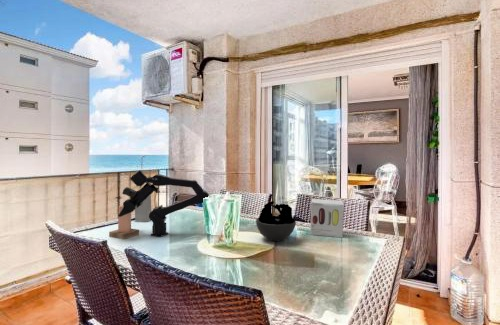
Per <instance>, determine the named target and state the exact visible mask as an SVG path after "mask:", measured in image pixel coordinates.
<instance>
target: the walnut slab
mask: <svg viewBox="0 0 500 325" xmlns="http://www.w3.org/2000/svg"><path fill="white" fill-rule="evenodd" d="M139 235H140V229H136V228H131V230H130V231H129V232H118V229H114V230H111V231H109V232H108V237H109V238H114V239H120V240H125V239H129V238H132V237H136V236H139Z"/></svg>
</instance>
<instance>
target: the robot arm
mask: <svg viewBox="0 0 500 325" xmlns="http://www.w3.org/2000/svg"><path fill="white" fill-rule="evenodd" d="M129 180H130V181H131V182H132V183H133V184H134V185H136V187H141V188H139V189H138V190H135V189H133V188H131V187H128V186H127V187H124V189H123V190H122V195H125V196H128V197H129V199H125V200H124V201H123V202H122V205H123V206H124V207H123V209H122V211H121V212H120V214H119V215H117V216H119V217H121V216H123V215H126V214H128V213H131V214H132V212H135V209H136V208H138V207H139V206H141V205H142V204H143V201H144V200H146V199H147V198H148V197H149V196H152V194H153V193H154V192H155V193H156V194H158V193H159V188H160V187H162V186H163V187H164V186H174V187H175V186H176V187H184V188H191V189H192V190H193V191H194V193H195V194H194V195H193V196H191V197H189V198H186V199H184V200H180V201H178V202H174V203H173V204H170V205H166V206H163V204H161V205H159V206H154V208H153V209H151V212H150V214H149V218H150V221H151V222H152V225H151V226H152V229H151V231H152V232H151V233H150V236H154V237H163V236H166V235H168V234H169V233H168V232H167V222H166V220H167V215H169V214H171V213H174V212H176V211H177V212H178V211H179V210H182V209H185V208H188V207H190V206H193V205H200V204H204V203H203V198H205V197H208V196H209V197H210V194H209V192H208V191H206V190H204V189H203V187H202V186H201V185H200V184H199V182H198V181H197V180H195V179H193V180H191V179H184V178H183V179H182V178H176V177H175V178H174V177H169V176H168V175H163V174H160V173H158V174H155V175H153V176H149V177H148V176H146V175H145V174H144V172H143V171H142V170H138V171H137V172H136V173H135V174H132V176H131V177H130V178H129Z"/></svg>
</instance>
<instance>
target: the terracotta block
mask: <svg viewBox="0 0 500 325" xmlns="http://www.w3.org/2000/svg"><path fill="white" fill-rule="evenodd" d="M123 207H124V206H123V204H120V205H118V215H119V214H120V212H121V211H122V209H123ZM118 215H117V216H118ZM117 218H118V221H117V222H118V223H117V225H118V227H117V230H118V232H129V231H130V230H131V229H132V212H131V213H128V214H126V215H123V216H121V217H119V216H118V217H117Z"/></svg>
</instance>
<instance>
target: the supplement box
mask: <svg viewBox="0 0 500 325" xmlns="http://www.w3.org/2000/svg"><path fill="white" fill-rule="evenodd" d="M344 208H345V205H344V202H343V200H340V199H339V200H337V199H334V200H333V199H322V198H321V199H319V198H311V207H310V209H311V210H310V232H309V233H310V235H313V236H323V237H332V238H334V237H336V238H342V237H343V238H344V236H343V235H344V215H345V214H344V213H345V211H344Z"/></svg>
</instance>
